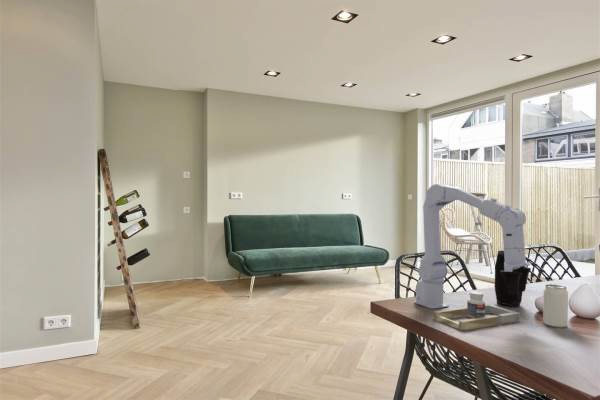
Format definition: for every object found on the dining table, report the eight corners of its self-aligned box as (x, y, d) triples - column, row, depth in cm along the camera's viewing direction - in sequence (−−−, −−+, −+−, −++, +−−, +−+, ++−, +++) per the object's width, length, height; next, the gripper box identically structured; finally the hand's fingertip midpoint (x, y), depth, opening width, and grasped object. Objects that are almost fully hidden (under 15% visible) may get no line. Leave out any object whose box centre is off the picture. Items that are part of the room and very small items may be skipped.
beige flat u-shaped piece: (433, 319, 131) (433, 311, 131) (467, 314, 137) (468, 306, 137) (462, 330, 120) (462, 322, 120) (498, 324, 126) (498, 316, 126)
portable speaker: (490, 301, 154) (491, 250, 154) (514, 301, 154) (515, 250, 154) (501, 307, 145) (502, 253, 145) (527, 308, 145) (528, 253, 145)
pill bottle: (477, 323, 127) (477, 295, 127) (463, 319, 132) (463, 291, 132) (488, 321, 129) (489, 293, 129) (474, 317, 134) (475, 290, 134)
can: (571, 328, 123) (572, 289, 123) (547, 327, 124) (548, 288, 124) (562, 322, 129) (562, 284, 129) (539, 320, 131) (540, 283, 131)
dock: (471, 313, 138) (471, 306, 138) (488, 311, 141) (488, 303, 141) (501, 323, 127) (502, 315, 127) (519, 320, 130) (519, 313, 130)
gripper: (521, 250, 117) (524, 298, 116) (535, 246, 127) (538, 290, 127) (495, 249, 122) (498, 295, 121) (510, 246, 132) (513, 288, 132)
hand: (517, 292), depth 124 cm, fingers open, 7 cm apart
